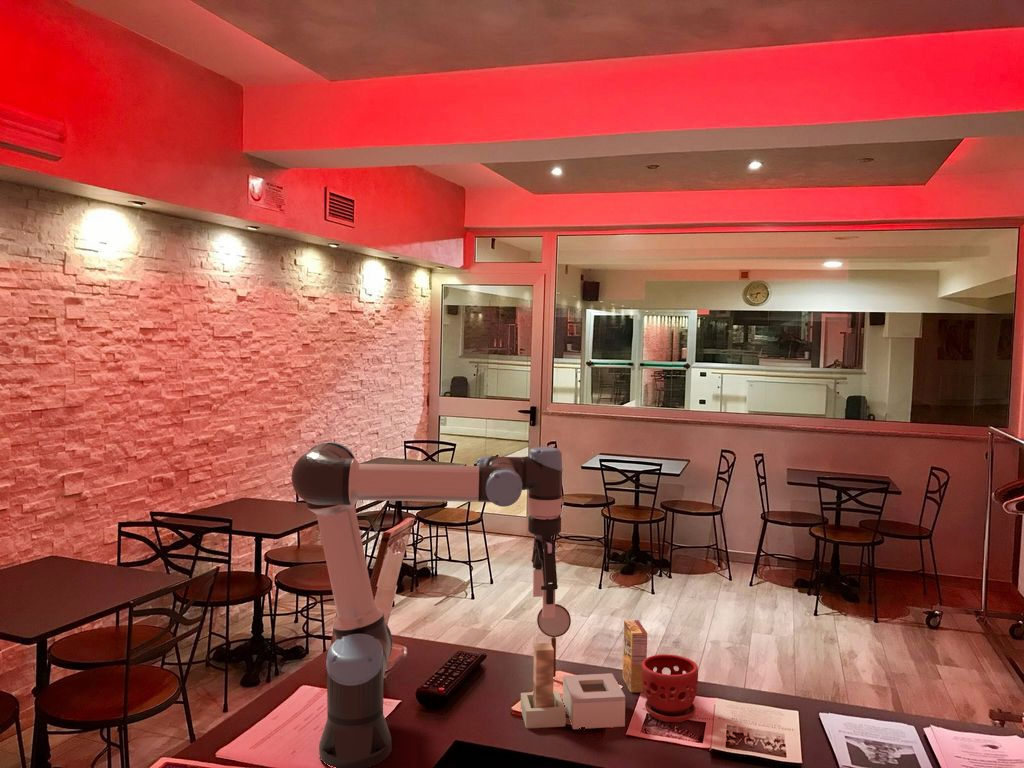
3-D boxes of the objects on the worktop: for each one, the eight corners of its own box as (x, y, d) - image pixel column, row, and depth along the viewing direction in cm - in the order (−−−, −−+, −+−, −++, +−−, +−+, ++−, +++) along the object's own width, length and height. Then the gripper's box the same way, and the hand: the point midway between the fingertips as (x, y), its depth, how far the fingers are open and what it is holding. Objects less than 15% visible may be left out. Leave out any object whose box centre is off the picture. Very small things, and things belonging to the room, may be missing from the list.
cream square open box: (526, 728, 177) (526, 711, 176) (520, 709, 186) (520, 692, 185) (565, 726, 178) (565, 709, 178) (557, 707, 187) (558, 690, 186)
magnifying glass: (570, 679, 202) (571, 603, 200) (569, 682, 200) (571, 605, 199) (536, 677, 202) (537, 602, 201) (536, 680, 201) (537, 604, 199)
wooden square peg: (535, 722, 179) (536, 650, 178) (533, 714, 183) (533, 643, 182) (552, 721, 180) (553, 649, 179) (549, 713, 184) (550, 642, 183)
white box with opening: (573, 729, 177) (573, 699, 176) (562, 703, 188) (563, 675, 188) (624, 726, 178) (625, 696, 178) (611, 701, 190) (611, 673, 189)
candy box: (621, 677, 203) (622, 619, 202) (637, 676, 203) (638, 619, 202) (630, 693, 194) (631, 633, 193) (646, 692, 195) (648, 632, 194)
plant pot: (701, 706, 188) (703, 658, 187) (690, 732, 176) (691, 680, 175) (648, 695, 193) (649, 648, 192) (633, 719, 181) (634, 669, 180)
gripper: (572, 529, 166) (570, 626, 168) (551, 502, 191) (550, 587, 193) (537, 529, 165) (535, 627, 167) (521, 503, 190) (519, 588, 192)
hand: (543, 606), depth 180 cm, fingers open, 13 cm apart
